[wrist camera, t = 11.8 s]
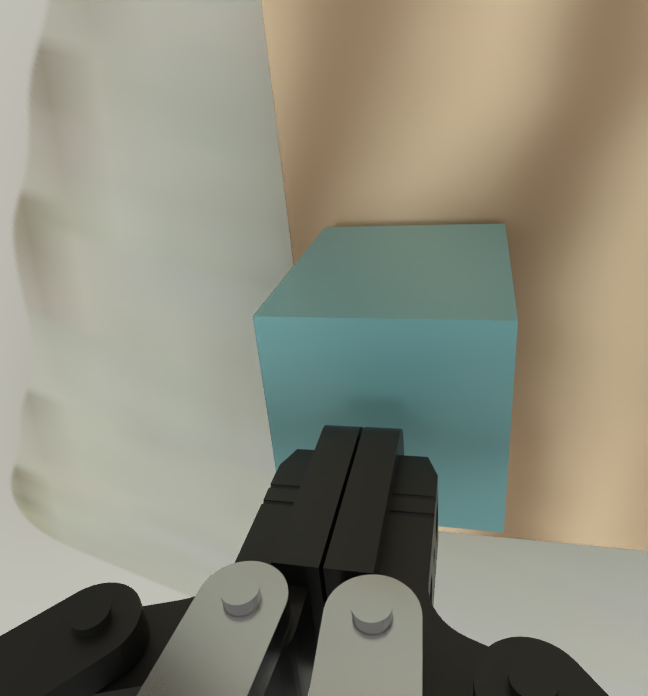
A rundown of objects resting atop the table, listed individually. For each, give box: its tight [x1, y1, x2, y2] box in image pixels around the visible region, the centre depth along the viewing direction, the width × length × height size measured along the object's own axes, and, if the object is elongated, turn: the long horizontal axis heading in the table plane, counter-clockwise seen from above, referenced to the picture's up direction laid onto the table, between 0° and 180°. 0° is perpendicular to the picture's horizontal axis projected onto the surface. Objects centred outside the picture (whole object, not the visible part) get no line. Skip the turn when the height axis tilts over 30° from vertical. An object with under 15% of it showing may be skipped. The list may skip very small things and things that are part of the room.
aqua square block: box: [253, 223, 518, 533], centre depth 16 cm, size 5×5×7 cm
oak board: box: [261, 0, 648, 551], centre depth 18 cm, size 16×25×1 cm, turn 5°
